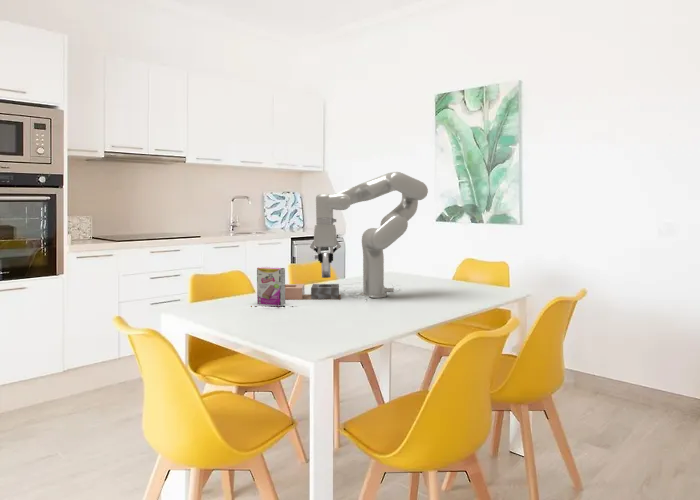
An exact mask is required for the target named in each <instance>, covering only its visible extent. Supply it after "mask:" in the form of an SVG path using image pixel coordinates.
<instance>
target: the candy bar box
mask: <svg viewBox="0 0 700 500" xmlns="http://www.w3.org/2000/svg"><path fill="white" fill-rule="evenodd" d="M256 281H257V282H256V287H257V288H256V289H257V290H256V291H257V292H256V293H257V305H266V306H267V307H269V308H282V307H283V308H284V305H285V304H286V300H285V284H286V267H278V266H277V267H273V266H259V267H257V268H256Z"/></svg>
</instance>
